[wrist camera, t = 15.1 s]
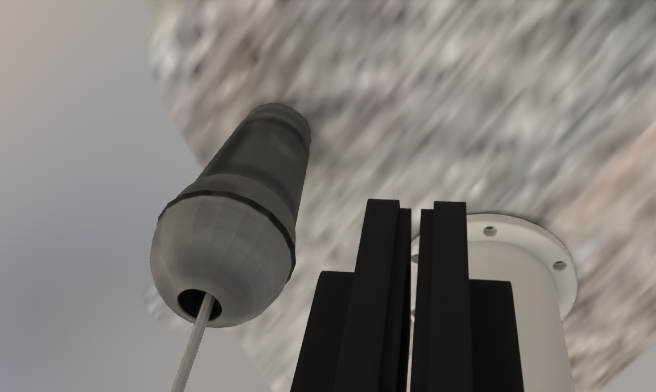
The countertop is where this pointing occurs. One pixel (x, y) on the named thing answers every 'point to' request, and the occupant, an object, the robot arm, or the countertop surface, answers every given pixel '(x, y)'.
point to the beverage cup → (234, 228)
